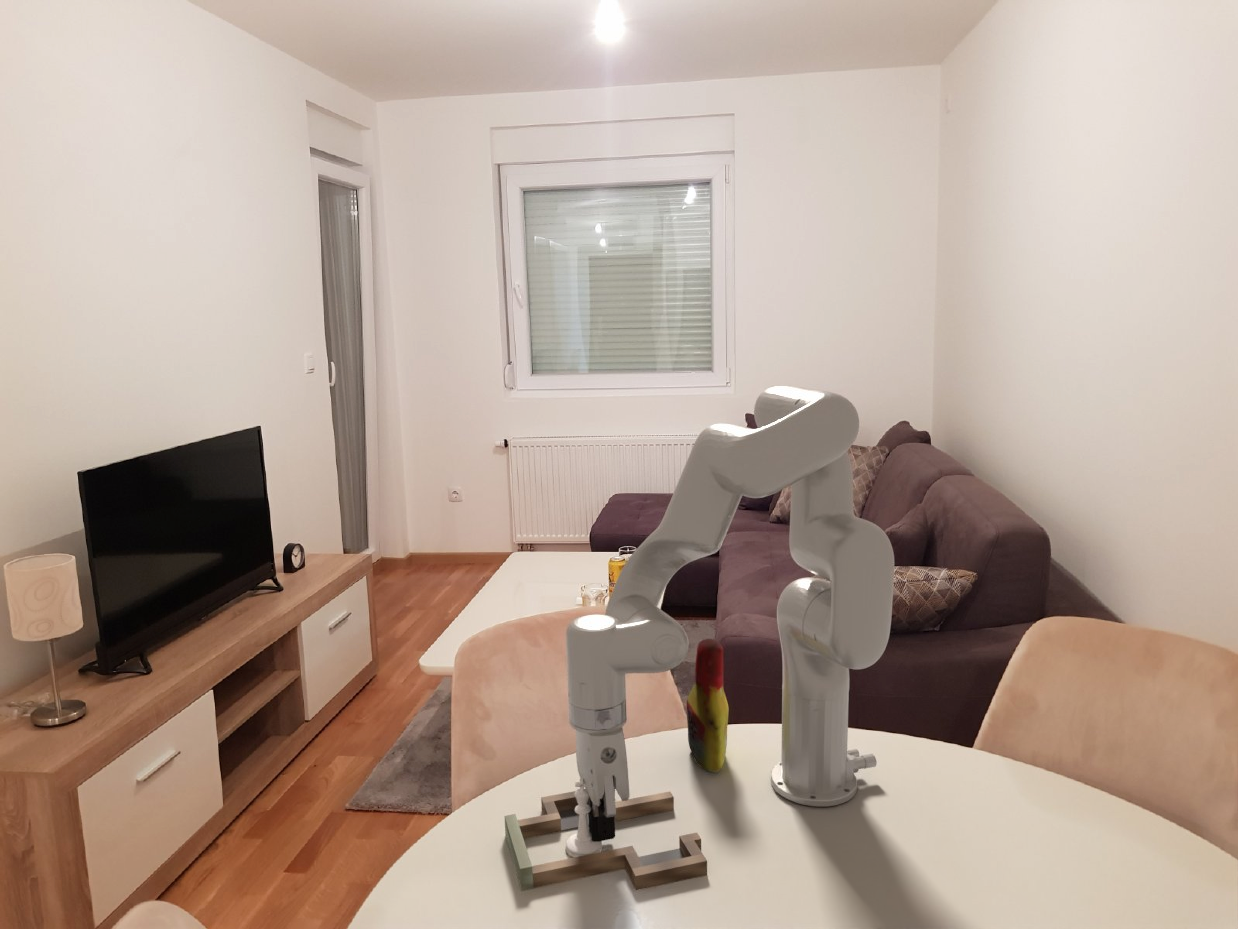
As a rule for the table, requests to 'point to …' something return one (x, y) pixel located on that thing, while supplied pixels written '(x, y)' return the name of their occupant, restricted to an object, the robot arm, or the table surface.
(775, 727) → the table surface
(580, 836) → the chess piece
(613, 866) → the trap lane
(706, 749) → the bottle
